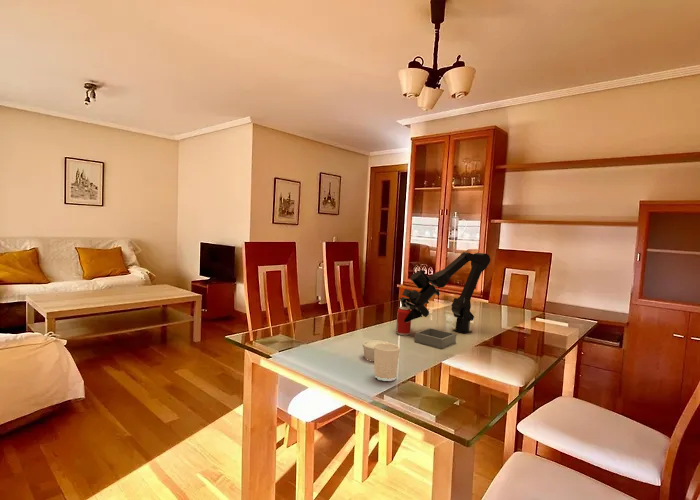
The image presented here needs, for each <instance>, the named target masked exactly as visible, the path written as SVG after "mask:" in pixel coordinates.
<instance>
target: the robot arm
mask: <svg viewBox="0 0 700 500" xmlns="http://www.w3.org/2000/svg"><path fill="white" fill-rule="evenodd" d="M469 262H470V271H469V274H468V276H467V278H466V280H465V284H464V286H463V288H462V290H461V293H460V295H459V297H457V298H456V297H454V298H453V301H452V304H450V306H451V308H450V309H451V312H452V313H453V317H454V318H456V321H455V328H454V329H452V330H453V331H455V332H458V333H461V334H469V333H470V334H471V333H472V332H473V330H470V326H471V322H472V321H474V319H475V316H474V314H473V313H472V312H471V307H472V305H471V300H472V296H473V294H474V292H475V290H476V286H477V285H478V281H479V279H480V277H481V274H482V273H483V272H484V271H485V270H486V269H487V268H488V266H489V264H490V263H491V256H490V254H487V253H484V252H483V253H482V252H475V253H471V252H466V251H463V252H462V253H460V255H459V256H458V257H456V258H455V259H454V260H453V261H452V262H451V263H449V264H448V265H447V266H446V267H445V268H443V269H441V270H438V271H436V272H435V273H433V274H432V275H431V276H428V275H427V274H426V273H425V271H424V270H423V269H419V270H418V271H416V272H414V273H412V274H411V275H410V278H409V279H410V280H411V282H412V283H413V284H414V285H415V287H416V288H418V289H420V290H419V291H417V290H415V289H412V290H411V289H407V288H404V290H403V292H402V294H401V295H402V296H401V298H399V301H400V304H401V307H409V308H410V310H411V312H410V313H409V314H408V316H407V317H406V318H405V320H404V322H408V321H411V322H412V321H413V320H416V319H418V318H423V317H424V318H427V317H428V316H429V314H430V311H429V309H428V308H427V307H426V306H425V305H426V304H429V303H430V302H429V300H430V299H431V298H432V297H433V296H434V295H435V296H438V297H439V296H440V289H438V288H444V287H445V286H446V285H448V283H449V282H450V279H451V278H452V276H454V274H456V273H457V272H458V271H460V269H462V268H463V267H464V266H465V265H466V264H467V263H469Z"/></svg>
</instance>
